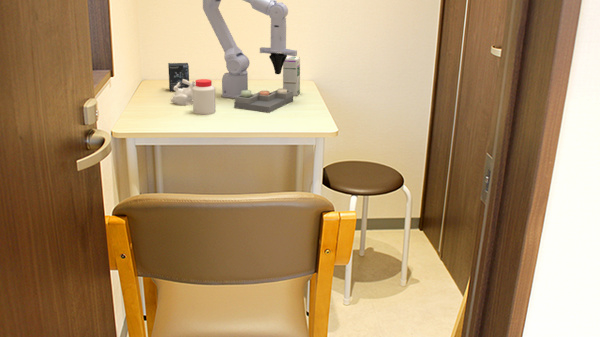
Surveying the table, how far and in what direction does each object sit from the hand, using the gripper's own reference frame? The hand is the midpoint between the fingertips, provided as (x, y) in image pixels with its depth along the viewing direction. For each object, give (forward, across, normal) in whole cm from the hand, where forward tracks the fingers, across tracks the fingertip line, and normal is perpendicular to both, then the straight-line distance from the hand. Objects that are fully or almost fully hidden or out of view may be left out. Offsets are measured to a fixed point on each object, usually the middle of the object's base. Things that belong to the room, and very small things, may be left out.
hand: (278, 73), depth 226 cm
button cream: (+7, +3, -2) cm, 8 cm away
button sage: (+6, -5, -16) cm, 17 cm away
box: (+10, -42, -5) cm, 43 cm away
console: (+10, -1, -9) cm, 13 cm away
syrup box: (+10, 0, +11) cm, 15 cm away
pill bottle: (+10, -14, -29) cm, 34 cm away
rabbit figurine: (+10, -26, -22) cm, 36 cm away
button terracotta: (+7, -1, -9) cm, 12 cm away
